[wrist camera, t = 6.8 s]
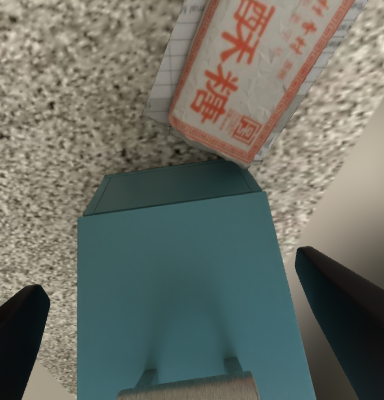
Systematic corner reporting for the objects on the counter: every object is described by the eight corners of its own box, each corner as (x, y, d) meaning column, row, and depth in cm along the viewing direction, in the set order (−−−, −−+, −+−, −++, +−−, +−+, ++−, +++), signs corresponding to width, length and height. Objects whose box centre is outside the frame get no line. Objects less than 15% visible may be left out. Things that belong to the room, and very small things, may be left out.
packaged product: (272, 189, 17) (134, 129, 14) (252, 162, 21) (143, 112, 18) (555, -203, 9) (365, -511, 6) (435, -123, 13) (289, -288, 10)
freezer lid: (326, 459, 11) (413, 587, 7) (83, 496, 11) (0, 652, 7) (263, 194, 15) (290, 158, 11) (82, 219, 15) (30, 195, 11)
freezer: (240, 263, 27) (258, 313, 21) (138, 277, 27) (130, 332, 21) (238, 156, 21) (262, 189, 15) (104, 175, 21) (81, 214, 15)
